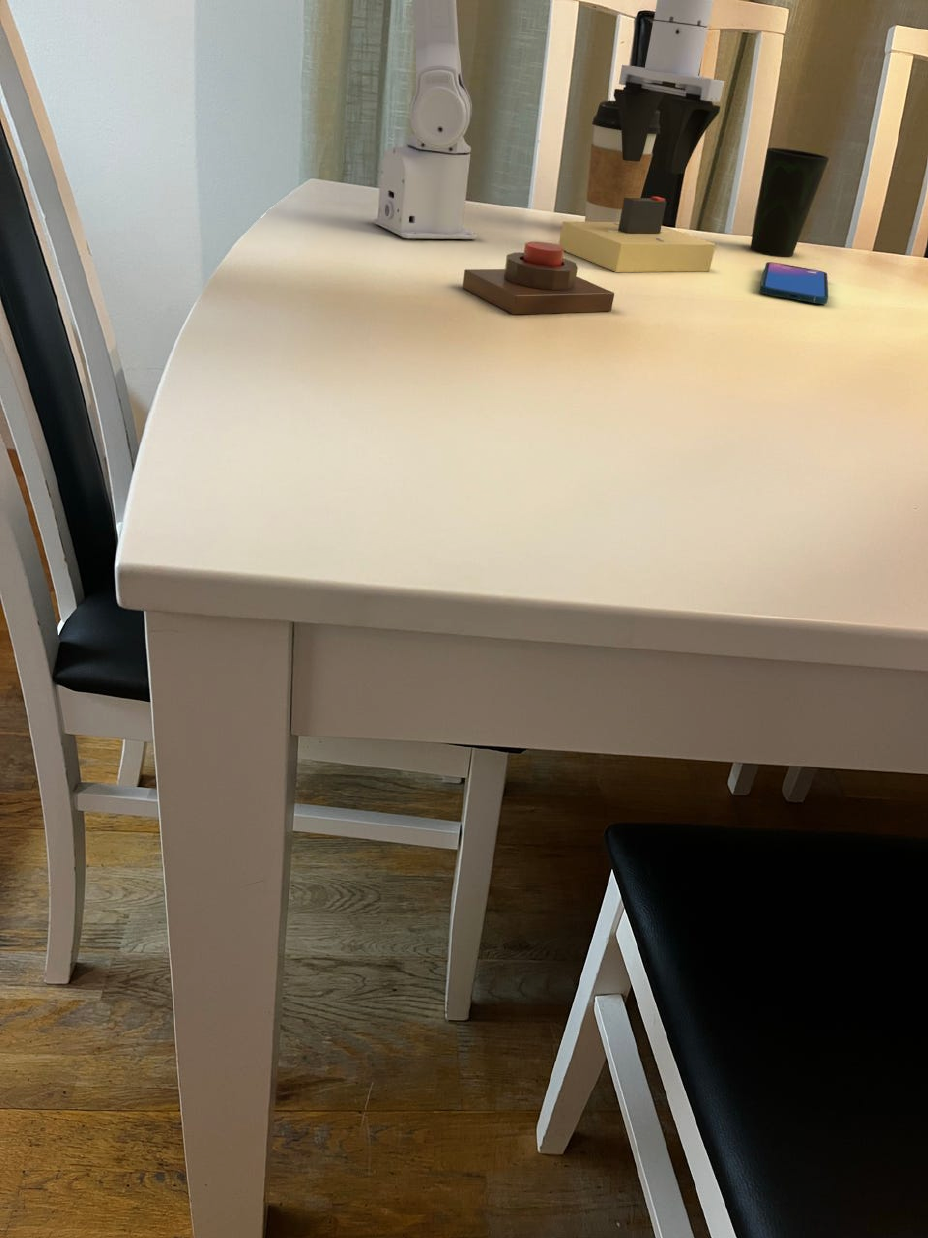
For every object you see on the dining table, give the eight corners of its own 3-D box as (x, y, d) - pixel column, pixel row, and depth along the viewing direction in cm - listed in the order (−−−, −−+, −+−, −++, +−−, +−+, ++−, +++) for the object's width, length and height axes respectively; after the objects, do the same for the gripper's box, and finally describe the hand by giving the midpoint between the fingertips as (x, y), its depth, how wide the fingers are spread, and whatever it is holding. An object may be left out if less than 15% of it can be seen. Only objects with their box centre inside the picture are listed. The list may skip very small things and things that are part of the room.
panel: (615, 271, 106) (621, 241, 104) (558, 248, 114) (562, 219, 112) (709, 270, 113) (716, 242, 111) (649, 248, 120) (654, 221, 119)
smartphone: (760, 286, 104) (765, 260, 117) (757, 294, 105) (763, 268, 117) (829, 299, 103) (827, 271, 115) (826, 307, 103) (825, 279, 116)
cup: (804, 253, 131) (832, 156, 125) (796, 261, 125) (825, 159, 118) (747, 242, 133) (772, 146, 127) (737, 249, 127) (762, 149, 121)
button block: (513, 314, 85) (519, 273, 83) (461, 287, 91) (466, 248, 90) (611, 311, 90) (618, 272, 89) (556, 285, 97) (562, 249, 95)
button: (536, 270, 87) (539, 250, 86) (514, 260, 90) (517, 240, 89) (568, 270, 89) (571, 250, 88) (546, 260, 92) (549, 241, 91)
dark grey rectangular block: (626, 233, 110) (633, 197, 108) (617, 230, 111) (624, 194, 109) (660, 233, 112) (667, 199, 110) (651, 230, 113) (658, 196, 111)
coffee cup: (636, 233, 129) (662, 106, 121) (640, 245, 121) (667, 111, 114) (574, 224, 129) (595, 97, 121) (574, 235, 122) (596, 101, 114)
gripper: (758, 33, 98) (723, 179, 105) (664, 23, 108) (638, 156, 115) (706, 26, 94) (674, 177, 101) (615, 15, 104) (591, 154, 112)
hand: (652, 166), depth 108 cm, fingers open, 7 cm apart
